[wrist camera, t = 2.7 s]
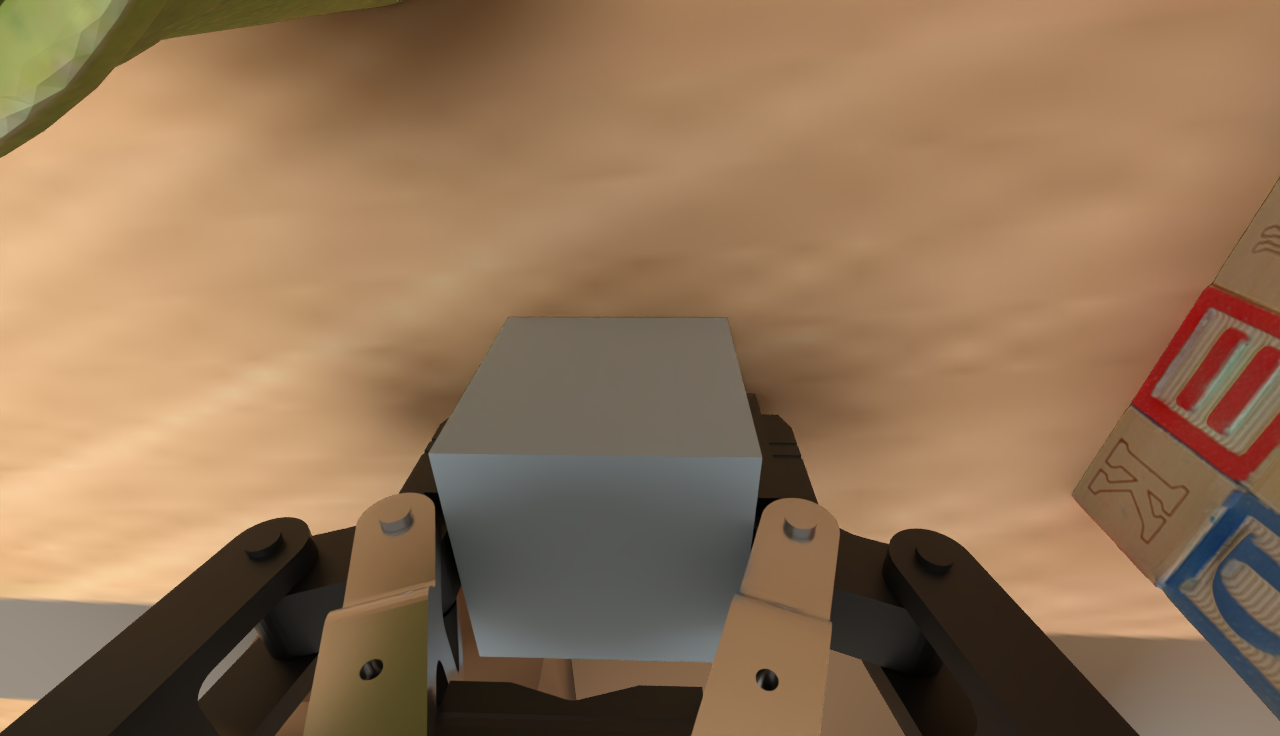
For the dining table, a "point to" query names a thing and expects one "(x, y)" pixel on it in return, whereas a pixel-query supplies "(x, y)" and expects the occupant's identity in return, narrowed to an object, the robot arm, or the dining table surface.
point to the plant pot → (107, 46)
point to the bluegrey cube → (601, 488)
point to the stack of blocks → (1210, 464)
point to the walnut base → (482, 673)
